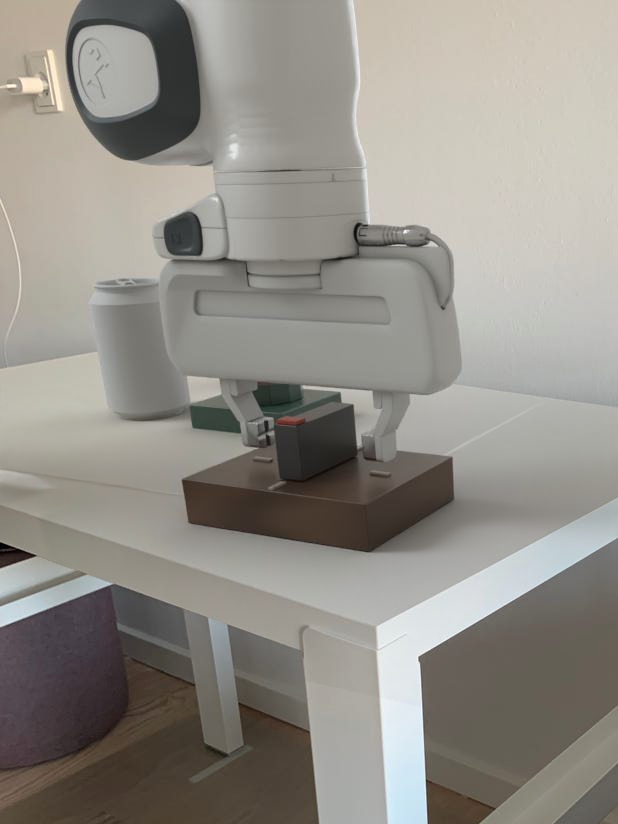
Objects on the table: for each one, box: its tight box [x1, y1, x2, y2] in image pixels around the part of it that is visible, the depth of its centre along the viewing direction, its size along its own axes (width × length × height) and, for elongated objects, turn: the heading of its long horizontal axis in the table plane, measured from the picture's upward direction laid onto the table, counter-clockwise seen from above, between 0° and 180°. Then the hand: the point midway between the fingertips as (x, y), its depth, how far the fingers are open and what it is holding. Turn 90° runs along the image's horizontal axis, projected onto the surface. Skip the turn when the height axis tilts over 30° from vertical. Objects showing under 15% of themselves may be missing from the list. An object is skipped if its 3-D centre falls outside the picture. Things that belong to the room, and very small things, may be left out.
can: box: [87, 277, 191, 421], centre depth 92 cm, size 8×8×12 cm
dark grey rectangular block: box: [273, 402, 358, 481], centre depth 65 cm, size 6×2×4 cm, turn 154°
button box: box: [188, 382, 343, 435], centre depth 89 cm, size 10×9×4 cm
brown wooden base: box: [181, 443, 455, 553], centre depth 67 cm, size 14×11×3 cm
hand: (318, 452), depth 66 cm, fingers open, 8 cm apart
